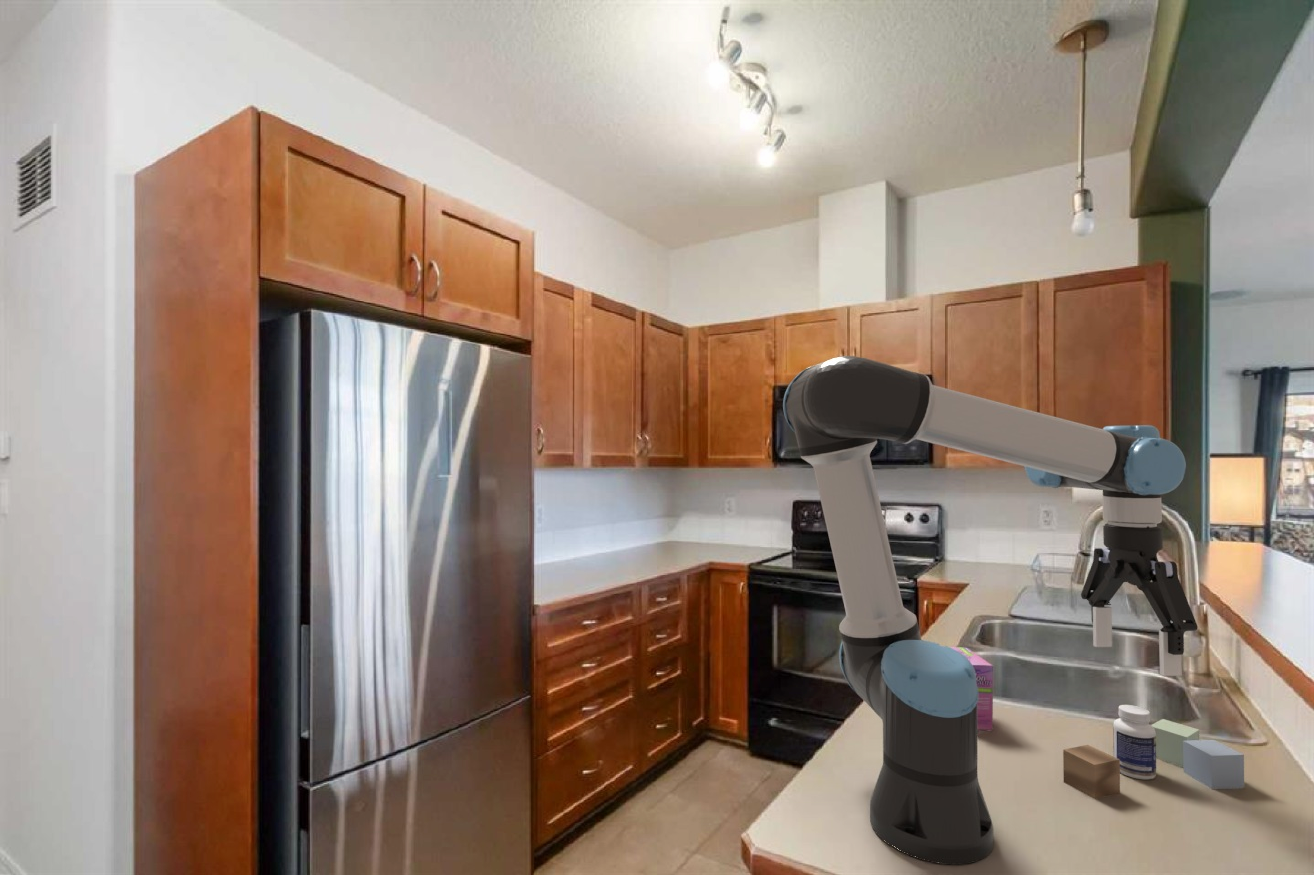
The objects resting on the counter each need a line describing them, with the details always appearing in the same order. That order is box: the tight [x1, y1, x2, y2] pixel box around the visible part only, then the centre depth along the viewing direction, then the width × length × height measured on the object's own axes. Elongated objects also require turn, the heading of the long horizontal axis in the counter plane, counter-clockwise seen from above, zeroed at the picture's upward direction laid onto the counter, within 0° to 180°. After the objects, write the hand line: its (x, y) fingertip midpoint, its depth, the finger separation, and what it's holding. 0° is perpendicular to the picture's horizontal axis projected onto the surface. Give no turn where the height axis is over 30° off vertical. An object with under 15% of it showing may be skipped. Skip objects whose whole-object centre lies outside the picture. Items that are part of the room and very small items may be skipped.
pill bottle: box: [1112, 704, 1157, 781], centre depth 103 cm, size 5×5×10 cm
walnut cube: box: [1062, 744, 1121, 800], centre depth 98 cm, size 5×5×5 cm
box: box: [949, 646, 994, 732], centre depth 123 cm, size 10×6×12 cm, turn 179°
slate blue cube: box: [1182, 739, 1245, 790], centre depth 100 cm, size 5×5×5 cm
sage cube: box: [1150, 718, 1200, 768], centre depth 107 cm, size 5×5×5 cm
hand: (1134, 660), depth 103 cm, fingers open, 13 cm apart
